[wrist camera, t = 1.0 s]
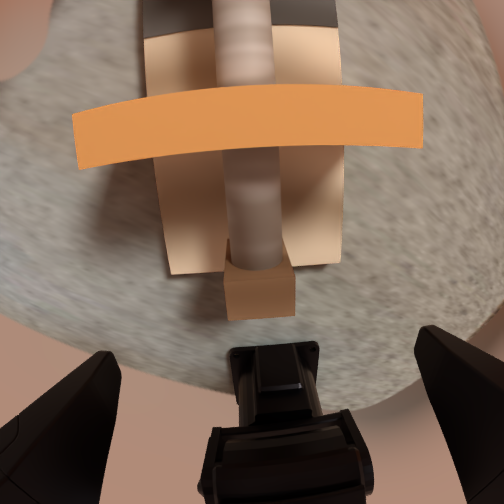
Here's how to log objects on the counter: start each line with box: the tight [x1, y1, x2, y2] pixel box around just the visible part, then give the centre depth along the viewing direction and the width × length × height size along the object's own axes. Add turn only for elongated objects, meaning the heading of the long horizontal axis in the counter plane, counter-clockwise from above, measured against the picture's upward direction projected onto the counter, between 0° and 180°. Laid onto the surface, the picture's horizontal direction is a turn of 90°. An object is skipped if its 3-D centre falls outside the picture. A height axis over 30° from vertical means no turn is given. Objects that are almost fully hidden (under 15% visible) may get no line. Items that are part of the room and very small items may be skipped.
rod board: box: [143, 0, 344, 321], centre depth 13 cm, size 20×10×6 cm, turn 3°
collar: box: [72, 84, 423, 170], centre depth 12 cm, size 2×12×6 cm, turn 93°
